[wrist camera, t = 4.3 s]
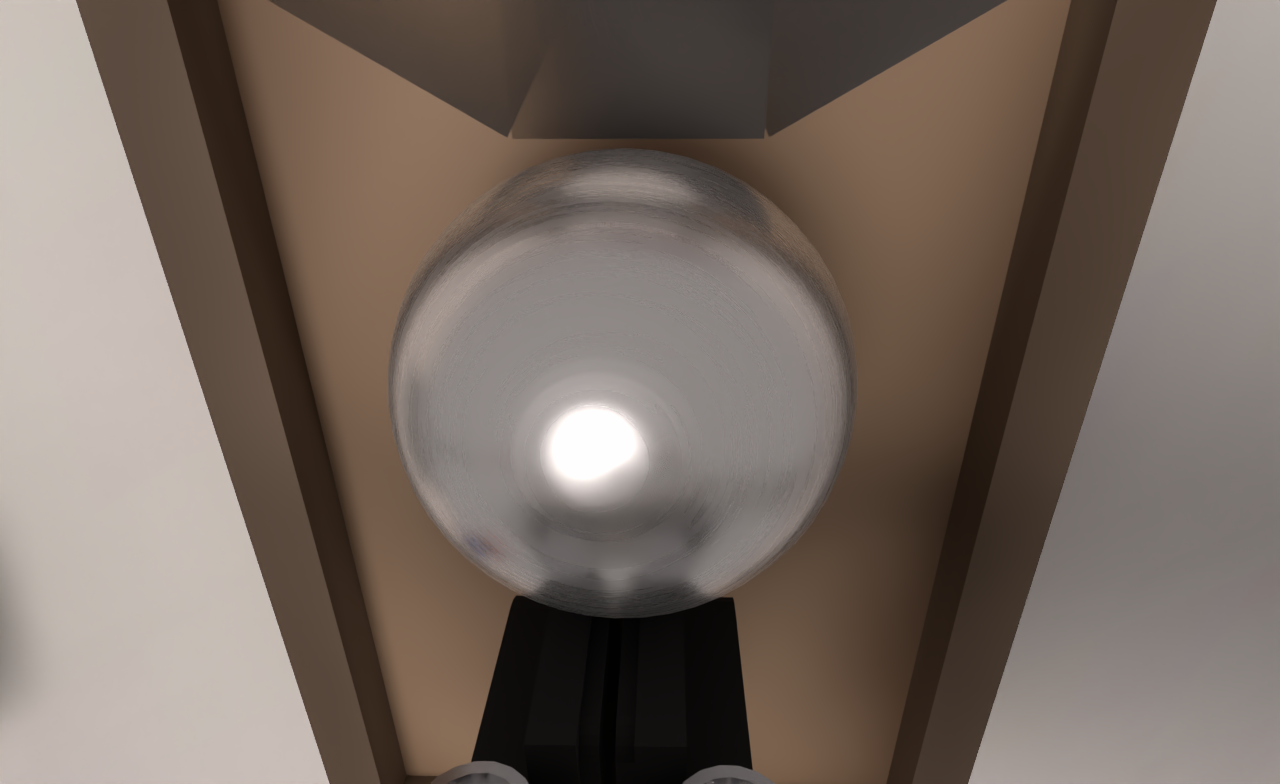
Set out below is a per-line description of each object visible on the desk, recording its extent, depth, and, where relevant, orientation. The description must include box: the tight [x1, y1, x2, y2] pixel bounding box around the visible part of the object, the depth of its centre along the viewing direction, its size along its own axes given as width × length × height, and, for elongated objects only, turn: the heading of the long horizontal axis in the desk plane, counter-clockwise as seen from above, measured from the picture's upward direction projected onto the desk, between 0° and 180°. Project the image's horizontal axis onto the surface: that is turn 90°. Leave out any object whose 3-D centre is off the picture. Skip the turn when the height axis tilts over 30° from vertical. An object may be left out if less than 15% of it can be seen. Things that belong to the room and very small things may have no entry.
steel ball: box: [388, 148, 858, 618], centre depth 8 cm, size 5×5×5 cm
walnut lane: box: [76, 0, 1217, 784], centre depth 10 cm, size 12×26×3 cm, turn 0°
